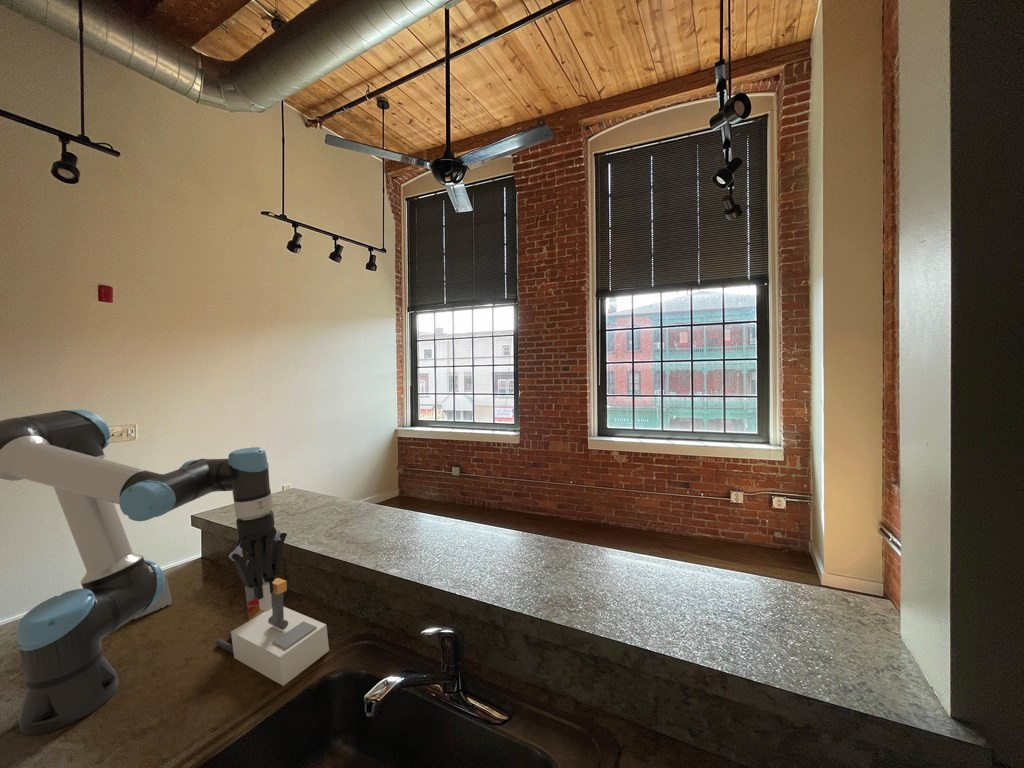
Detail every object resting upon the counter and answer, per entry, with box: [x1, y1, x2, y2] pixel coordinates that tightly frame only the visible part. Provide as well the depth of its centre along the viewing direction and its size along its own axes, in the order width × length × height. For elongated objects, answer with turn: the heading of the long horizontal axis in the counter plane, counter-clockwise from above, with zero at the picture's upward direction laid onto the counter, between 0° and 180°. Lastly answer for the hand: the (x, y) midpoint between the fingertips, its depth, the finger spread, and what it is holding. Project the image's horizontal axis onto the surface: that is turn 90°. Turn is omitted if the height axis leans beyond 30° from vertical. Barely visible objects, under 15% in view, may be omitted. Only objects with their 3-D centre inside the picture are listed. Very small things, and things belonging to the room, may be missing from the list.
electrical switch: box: [132, 573, 173, 620], centre depth 127 cm, size 9×5×9 cm, turn 141°
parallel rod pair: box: [215, 631, 234, 655], centre depth 109 cm, size 9×4×1 cm, turn 61°
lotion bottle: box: [244, 559, 272, 621], centre depth 115 cm, size 6×6×20 cm
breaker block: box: [230, 605, 330, 687], centre depth 105 cm, size 20×12×7 cm, turn 61°
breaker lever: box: [268, 577, 288, 630], centre depth 104 cm, size 5×2×11 cm, turn 61°
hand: (265, 608), depth 101 cm, fingers closed
